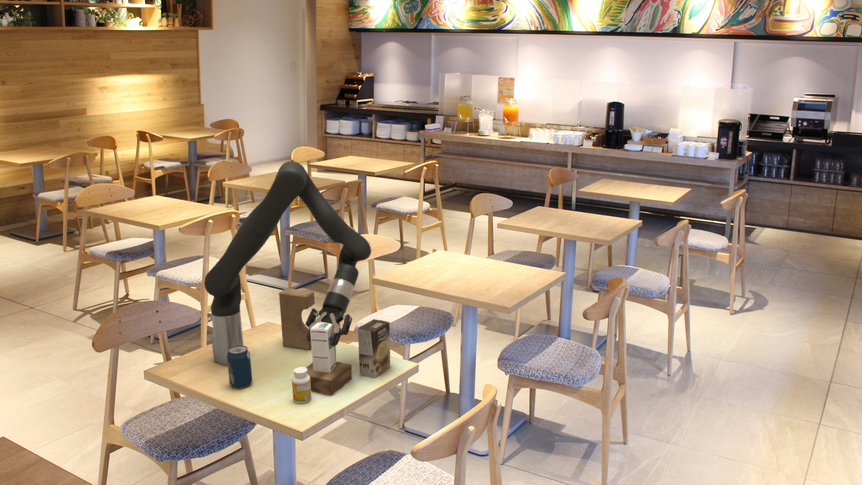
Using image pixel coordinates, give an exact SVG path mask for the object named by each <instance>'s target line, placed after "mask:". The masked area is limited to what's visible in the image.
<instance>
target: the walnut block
mask: <svg viewBox="0 0 862 485" xmlns="http://www.w3.org/2000/svg"><path fill="white" fill-rule="evenodd" d="M305 368H307V371H308V375H309V376H310V382H311V392H313V393H319V394H322V395H328V396H330V397H332V396H333V395H335V393H337V392H338V391H339V390H340V389H342V388H343V387H344V386H345V385H347V383H349V382H350V381H351V380H352V379H353V370H352V364H350V363H346V362H341V361H337V365H336V366H335V368H334V369H333V370H332V371H331V373H323V372H315V371H313V362H311V363H310V364H308V365H307V366H305Z"/></svg>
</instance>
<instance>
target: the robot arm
mask: <svg viewBox="0 0 862 485" xmlns="http://www.w3.org/2000/svg"><path fill="white" fill-rule="evenodd" d="M298 197H299V199H301V201H302V202H303V203H304V204H305V206H306V207H307V209H308V210H309V211H310V213H311V215H312V217H313V218H314V220H315V222H316V223H317V224H318V226H319V227H320V229H321V230H322V231H323V232H324V233H325V234H326V235H327V236H328V238H329V239H330V240H331V241H333V242H334V244H335V243H336V244H341V245H343V246H342V247H341V249H340V252H339V256H338V261H337V262H338V264H337V269H336V272H335V275H334V277H333V280H332V281H331V283H330V285H329V287H328V290H327V292H326V295H325V297H324V300H323V302H322V308H321V309H320V310H318V309H316V308H314V307H313V308H311V311H310V313H309V315H308V317H307V319H306V321H305V322H304V324H305V325H306V327H308V328H309V331H308V334H307V336H306V338H307V340H308V341H309V342H311V334H310V329H311V328H312V327H313V326H314V325H315V324H316V323H318V322H325V323H330V324H333V326H334V335H333V338H332V341H331V345H332V346H333V347H336V346H337V345H338V344H339V341H340V339H341V336H344V335H345V336H347V335H348V334H349V332H350V328H351V325H352V321H353V317H352V316H351V315H350V314H348V313H347V314H345V313H346V312H347V309H348V307H349V305H350V304H349V303H350V301H351V299H352V296H353V293H354V288H355V285H356V283H357V280H358V278H359V274H360V273H359V270H358V268H357V267H356V265H357V263H358V262H362V261H365V260H367V259H369V258H370V256H371V254H372V248H371V245H370V243H369V241H368V240H367V239H366V238H365V237H364V236H363V235H361V234H360V233H358V232H357V231H356V230H355V229H354V228H352V227H350V226H349V225H348V224H347V222H346V221H345V220H344V219H343V217H341V216H340V214H339V213H338V212H337V211H336V210H335V209H334V207H332V205H331V204H330V203H329V202H328V200H327V199H326V198H325V196H324V195H323V194H322V193H321V192H320V190H319V189H318V187H317V186H316V184H315V183H314V181H313V180H312V178H311V177H310V175H309V173H308V172H307V170H306V168H305V167H304V166H303V165H302V164H301V163H300V162H297V161H292V160H290V161H289V160H288V161H285V162H284V163H282V165H281V166H280V167H279V168H278V171H277V173H276V175H275V177H274V179H273V182H272V184H271V186H270V188H269V190H268V192H267V194H266V195H265V196H264V198H263V199H262V201H261V202H259V204H258V205H257V206H255V208H253V209H252V211H250V213H249V214H248V215H247V217H246V218H245V219H244V221H242V224H241V225H240V226H239V228H238V229H237V231H236V233H235V235H234V237H232V239H231V242H230V243H229V245H228V246H227V248H226V250H225V252H224V253H223V255H222V256H221V257H220V259H219V260H218V261H217V262H216V263H215V264H214V265H213V267H212V268H211V269H210V270H209V271H208V272H207V273H206V275H205V276H204V283H203V284H204V288H205V289H204V290H206V292H207V294H209V295H211V296H212V297H213V299H212V302H211V305H210V312H211V313H210V314H211V322H212V324H211V325H212V333H211V335H210V336H211V337H210V338H211V347H212V355H213V361H215V362H216V363H217V364H218V365H224V366H228V362H227V354H228V352H229V351H228V350H229V349H230V348H231V347H234V346H239V345H242V346H244V337H243V326H242V314H241V303H242V286H241V275H240V272H241V271H242V269H243V268H244V267H245V266H246V265H247V264H248V263H249V262H250V261H251V260H252V259H253V258H254V256H255V255H257V253H258V252H260V250H261V249H262V248H263V246H264V245H265V244H266V242H267V241H268V239H269V238H270V237H271V235H272V234H273V232H274V230H275V229H276V227H277V226H278V224H279V222H280V220H281V218H282V216H283V215H284V213H285V211H286V210H287V209H288V208H289V207H290V206H291V205H292V203H293V202H294V201H295V200H296V199H297V198H298ZM342 321H343V324H342V326H341V322H342Z"/></svg>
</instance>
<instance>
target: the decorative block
mask: <svg viewBox="0 0 862 485" xmlns="http://www.w3.org/2000/svg"><path fill="white" fill-rule="evenodd" d="M278 296H279V298H278V299H279V312H280V323H281V324H280V325H281V337H282V346H283V347H287V348H293V349H294V348H295V349H299V350H300V349H302V350H306V351H310V350H312V348H311V342H309V341H308V340H307V338H306V336H307V334H308V331H309V327H307V326H306V325H305V322H304V321H303V316H302V315H303V311H304V310H308V309H309V308H311V307H313V306H314V305H315V303H316V302H315V291H313V290H306V289H298V288H289V287H286V288H285V289H283V290H281V291H280V292H279V293H278Z"/></svg>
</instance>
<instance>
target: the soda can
mask: <svg viewBox="0 0 862 485" xmlns="http://www.w3.org/2000/svg"><path fill="white" fill-rule="evenodd" d="M228 351H229V352H228V354H227V362H228V365H227V371H228V381H229V384H230V386H231V387H232V388H234V389H245V388H247V387H249V386H250V385H251V383H252V381H253V374H252V371H253V370H252V360H251V359H252V358H251V352H250V351H249V349H248V346H246V345H243V346H242V345H239V346H234V347H231V348H230V349H229V350H228Z"/></svg>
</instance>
